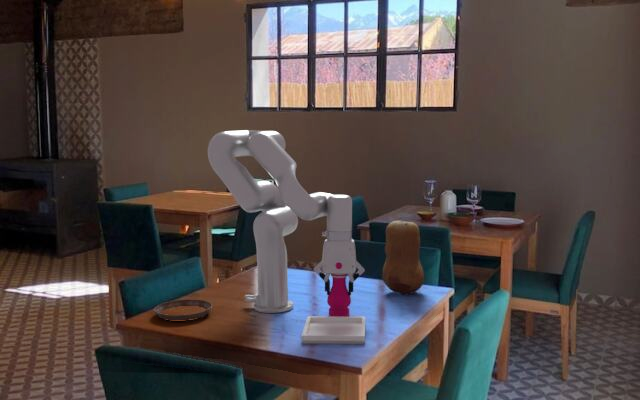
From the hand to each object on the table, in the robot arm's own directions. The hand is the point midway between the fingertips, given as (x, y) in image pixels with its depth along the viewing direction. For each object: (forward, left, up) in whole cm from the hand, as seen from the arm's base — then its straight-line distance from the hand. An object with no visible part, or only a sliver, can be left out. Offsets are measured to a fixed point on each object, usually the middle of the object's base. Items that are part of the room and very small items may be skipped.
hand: (339, 293), depth 203 cm
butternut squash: (+21, +26, -7) cm, 34 cm away
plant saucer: (-48, 0, -8) cm, 49 cm away
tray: (0, -16, -7) cm, 18 cm away
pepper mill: (0, 0, -7) cm, 7 cm away
